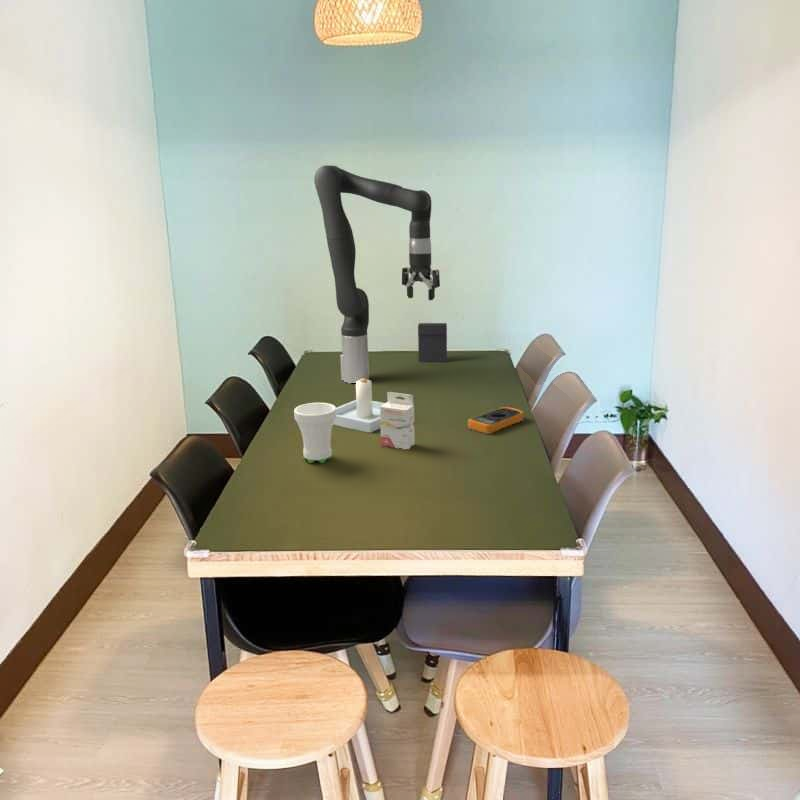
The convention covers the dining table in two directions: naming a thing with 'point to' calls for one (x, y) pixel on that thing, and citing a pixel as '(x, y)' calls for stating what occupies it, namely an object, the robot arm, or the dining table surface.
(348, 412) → the pale blue square tray
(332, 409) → the cup
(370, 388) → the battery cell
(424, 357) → the dark grey box
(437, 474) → the dining table surface
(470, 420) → the multimeter
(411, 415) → the ink cartridge box
